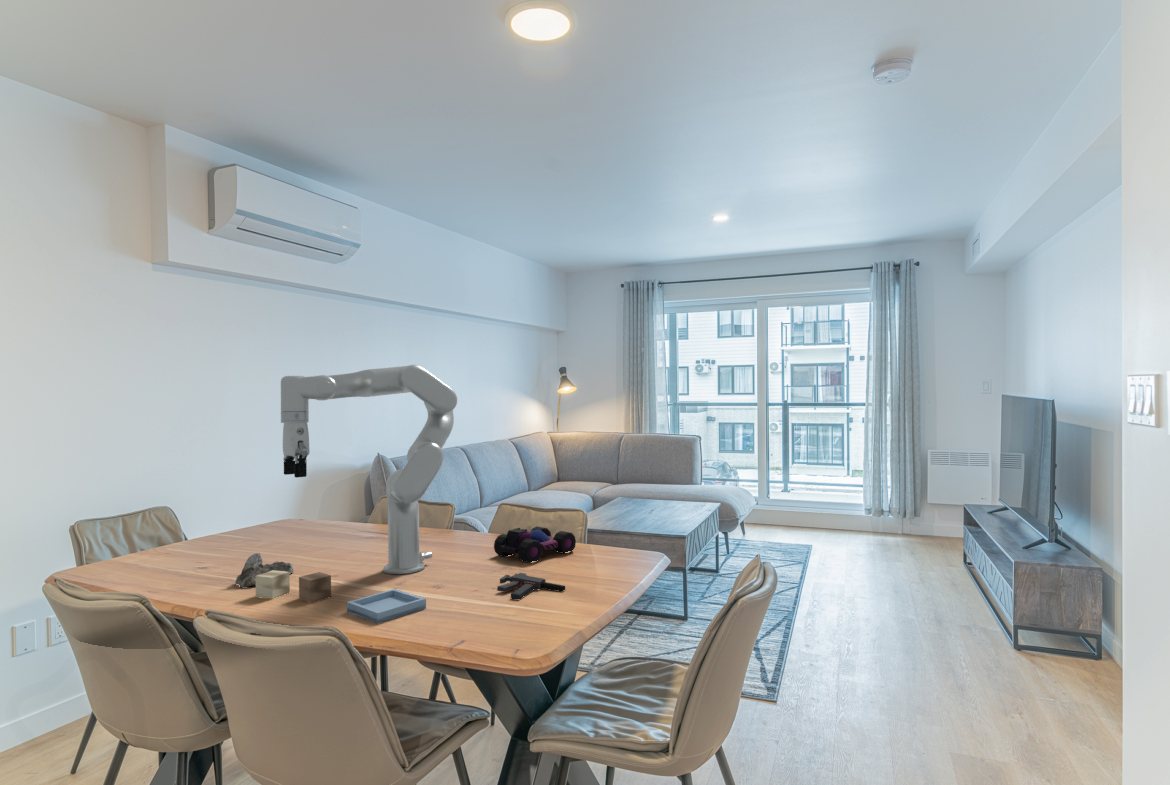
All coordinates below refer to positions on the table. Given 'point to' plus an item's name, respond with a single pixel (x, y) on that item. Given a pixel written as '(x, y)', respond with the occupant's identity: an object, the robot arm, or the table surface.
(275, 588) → the oak cube
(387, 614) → the tray
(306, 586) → the walnut cube
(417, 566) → the robot arm
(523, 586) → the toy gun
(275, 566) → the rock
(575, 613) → the table surface
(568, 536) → the toy car
